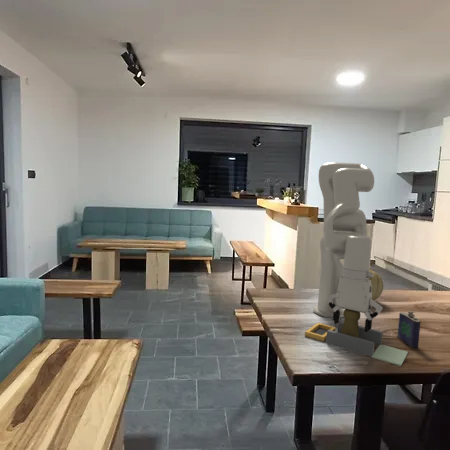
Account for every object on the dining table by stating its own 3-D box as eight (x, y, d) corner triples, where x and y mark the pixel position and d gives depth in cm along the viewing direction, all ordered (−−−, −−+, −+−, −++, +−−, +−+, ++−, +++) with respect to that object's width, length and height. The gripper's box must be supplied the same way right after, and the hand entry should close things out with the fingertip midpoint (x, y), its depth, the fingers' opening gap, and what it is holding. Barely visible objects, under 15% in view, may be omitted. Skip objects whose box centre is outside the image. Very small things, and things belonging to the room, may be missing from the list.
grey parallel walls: (338, 332, 126) (339, 320, 126) (381, 343, 118) (382, 331, 117) (326, 343, 116) (327, 331, 116) (371, 356, 108) (373, 343, 108)
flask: (395, 337, 124) (398, 306, 123) (403, 337, 124) (406, 306, 123) (412, 349, 115) (416, 316, 114) (421, 349, 115) (425, 316, 114)
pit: (317, 326, 130) (317, 322, 130) (335, 331, 126) (335, 327, 126) (304, 336, 121) (305, 331, 121) (323, 341, 117) (324, 337, 117)
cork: (356, 348, 114) (360, 313, 113) (337, 342, 117) (340, 309, 116) (361, 341, 119) (364, 308, 118) (342, 336, 122) (345, 304, 121)
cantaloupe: (348, 304, 158) (351, 270, 156) (345, 294, 172) (347, 263, 171) (385, 308, 155) (388, 273, 153) (378, 298, 169) (381, 266, 167)
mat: (380, 345, 117) (380, 344, 117) (407, 353, 112) (408, 351, 112) (371, 357, 108) (371, 356, 108) (400, 366, 103) (401, 364, 103)
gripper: (387, 277, 113) (382, 330, 115) (332, 268, 123) (329, 318, 125) (381, 281, 107) (376, 337, 109) (324, 271, 117) (321, 323, 119)
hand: (351, 327), depth 117 cm, fingers open, 9 cm apart
